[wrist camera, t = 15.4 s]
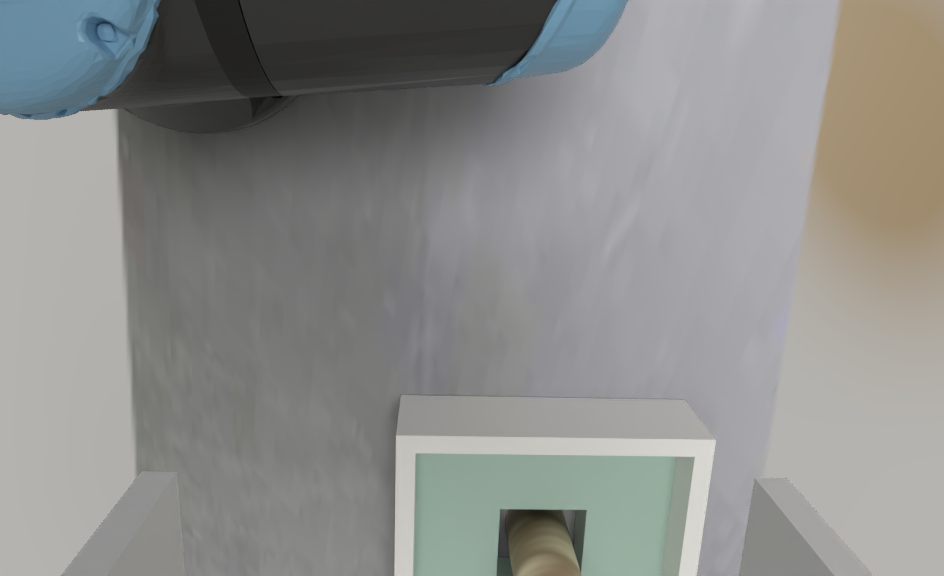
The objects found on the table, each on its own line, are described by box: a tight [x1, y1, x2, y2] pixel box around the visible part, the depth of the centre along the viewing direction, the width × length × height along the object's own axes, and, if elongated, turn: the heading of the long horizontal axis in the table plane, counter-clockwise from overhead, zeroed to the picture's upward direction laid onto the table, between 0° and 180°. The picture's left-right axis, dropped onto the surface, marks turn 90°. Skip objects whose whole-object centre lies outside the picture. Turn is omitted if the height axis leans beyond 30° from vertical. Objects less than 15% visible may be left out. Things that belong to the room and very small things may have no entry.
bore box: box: [394, 395, 716, 576], centre depth 50 cm, size 20×20×6 cm
